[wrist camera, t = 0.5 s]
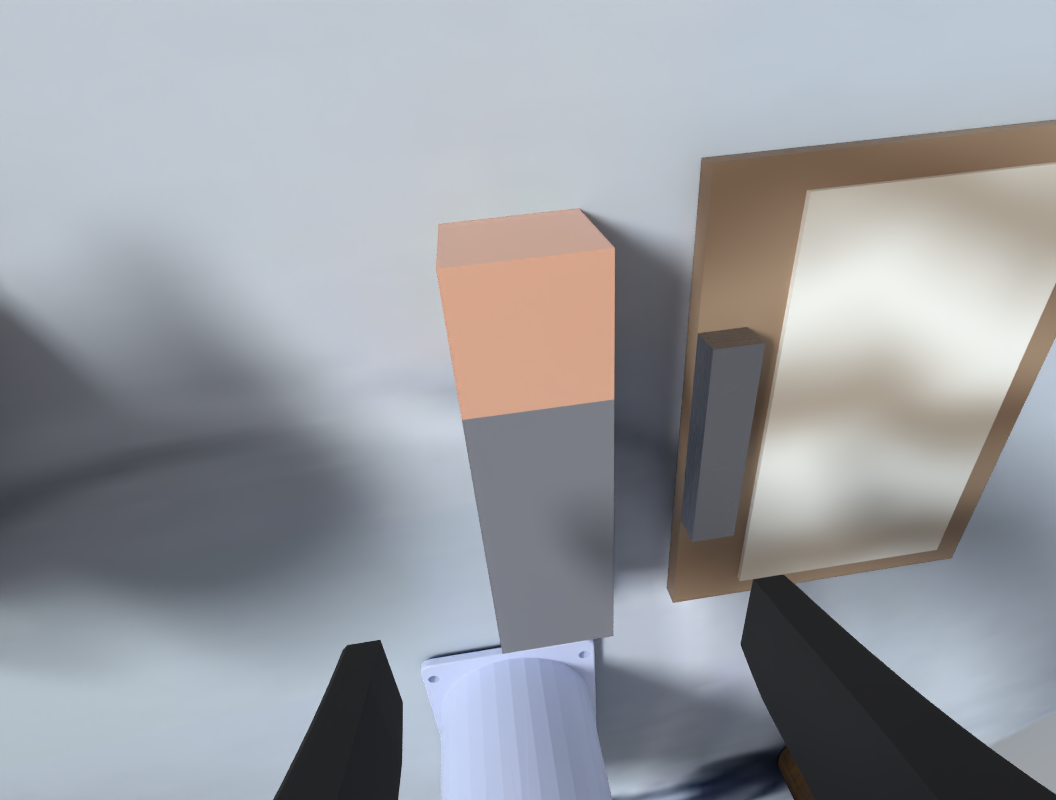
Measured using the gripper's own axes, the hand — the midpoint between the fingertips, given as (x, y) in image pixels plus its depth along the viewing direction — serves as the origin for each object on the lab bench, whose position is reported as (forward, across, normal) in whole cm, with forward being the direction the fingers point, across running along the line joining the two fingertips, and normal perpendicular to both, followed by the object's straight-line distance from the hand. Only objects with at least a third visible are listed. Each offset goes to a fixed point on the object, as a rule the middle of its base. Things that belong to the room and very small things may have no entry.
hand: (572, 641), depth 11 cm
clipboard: (+9, -12, +2) cm, 15 cm away
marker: (+9, 0, +1) cm, 9 cm away
